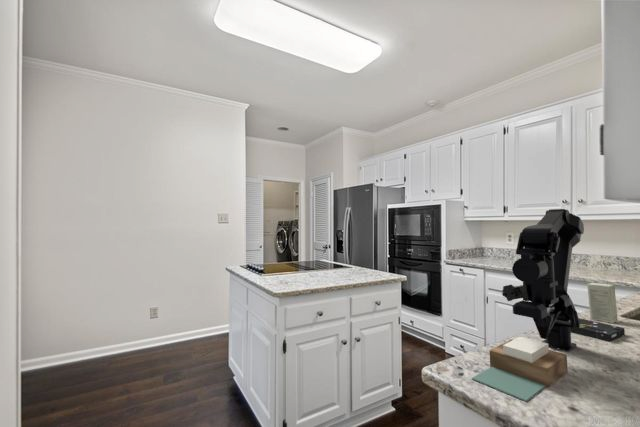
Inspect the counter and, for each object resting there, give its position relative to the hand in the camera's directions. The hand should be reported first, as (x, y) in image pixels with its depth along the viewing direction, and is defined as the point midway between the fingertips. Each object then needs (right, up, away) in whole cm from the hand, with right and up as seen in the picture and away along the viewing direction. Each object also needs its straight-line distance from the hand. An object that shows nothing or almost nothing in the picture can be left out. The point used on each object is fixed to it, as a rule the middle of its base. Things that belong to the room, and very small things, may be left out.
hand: (543, 338), depth 79 cm
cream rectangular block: (-8, -1, -6) cm, 10 cm away
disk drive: (+26, -6, +17) cm, 32 cm away
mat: (-16, -5, -11) cm, 20 cm away
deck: (-8, -5, -6) cm, 11 cm away
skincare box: (+40, -5, +27) cm, 48 cm away
